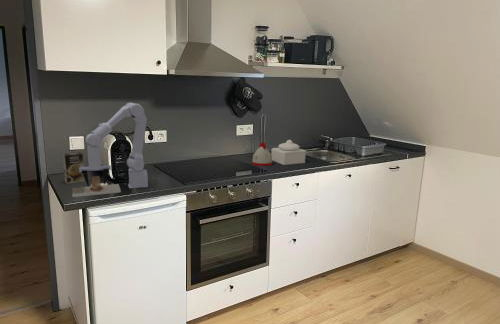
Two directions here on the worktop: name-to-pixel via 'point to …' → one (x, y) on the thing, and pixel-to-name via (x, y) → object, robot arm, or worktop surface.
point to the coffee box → (73, 167)
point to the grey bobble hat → (262, 156)
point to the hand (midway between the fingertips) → (96, 184)
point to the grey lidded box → (288, 153)
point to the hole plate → (88, 190)
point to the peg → (96, 183)
